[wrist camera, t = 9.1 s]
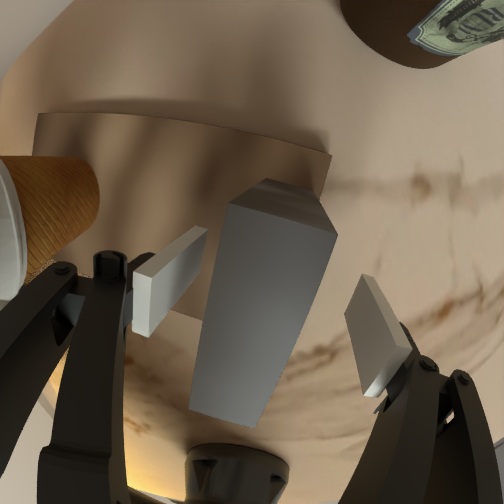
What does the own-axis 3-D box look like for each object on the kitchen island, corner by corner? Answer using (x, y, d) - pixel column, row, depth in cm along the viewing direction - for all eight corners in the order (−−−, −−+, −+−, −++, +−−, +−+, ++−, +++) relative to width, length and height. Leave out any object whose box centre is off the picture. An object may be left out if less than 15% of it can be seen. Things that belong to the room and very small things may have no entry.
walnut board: (329, 155, 16) (383, 150, 6) (272, 332, 21) (251, 452, 11) (46, 113, 18) (-46, 117, 8) (38, 245, 23) (-38, 285, 13)
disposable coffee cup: (45, 151, 19) (-57, 173, 8) (117, 128, 18) (-13, 132, 7) (58, 245, 22) (-31, 299, 11) (130, 244, 21) (25, 322, 10)
